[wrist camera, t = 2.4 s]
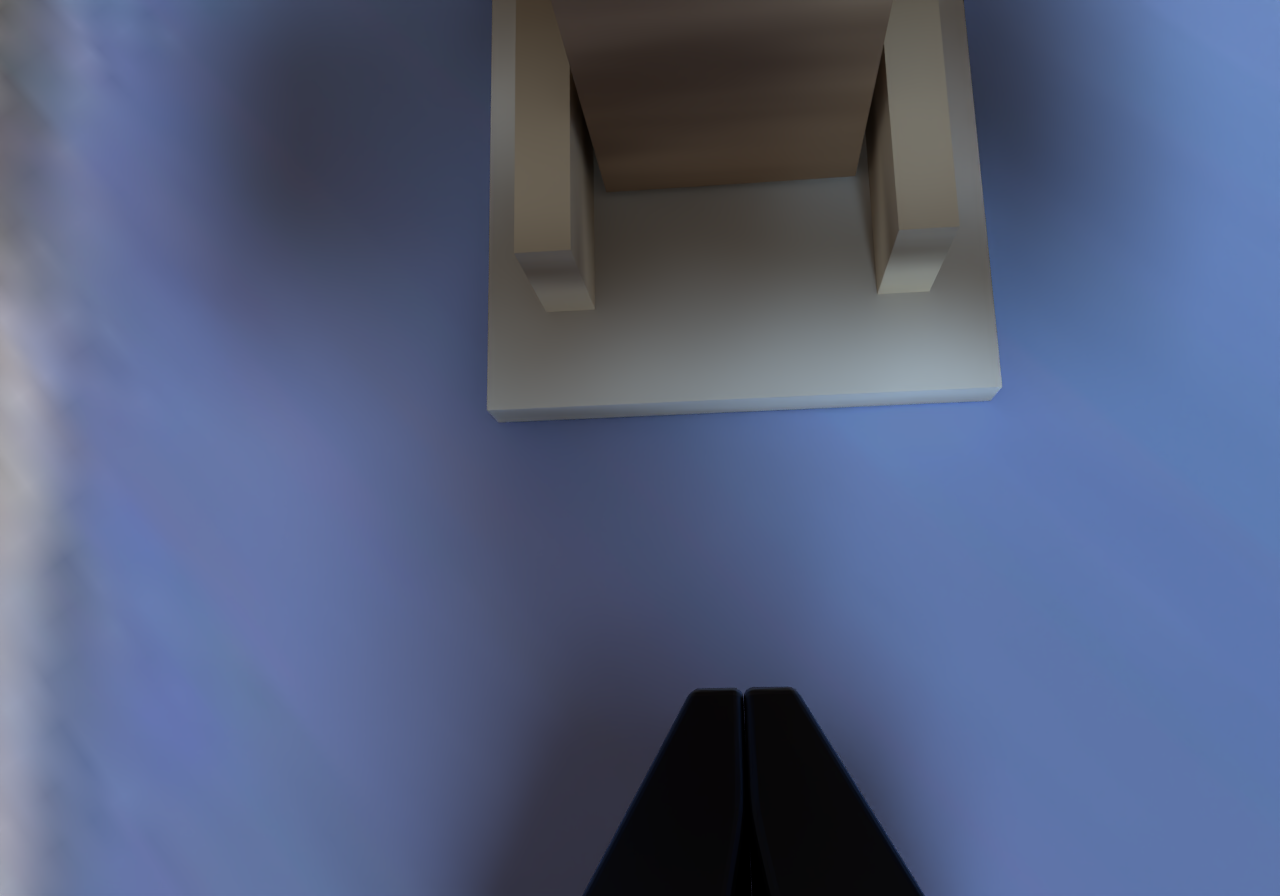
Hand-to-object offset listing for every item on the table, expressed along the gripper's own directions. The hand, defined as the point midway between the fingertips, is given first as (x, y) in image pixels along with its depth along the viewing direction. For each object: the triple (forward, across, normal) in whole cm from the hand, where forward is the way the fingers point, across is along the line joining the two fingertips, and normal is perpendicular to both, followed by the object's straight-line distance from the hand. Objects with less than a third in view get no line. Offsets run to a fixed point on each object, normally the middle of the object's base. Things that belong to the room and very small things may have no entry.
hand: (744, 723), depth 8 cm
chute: (+19, 0, -2) cm, 19 cm away
